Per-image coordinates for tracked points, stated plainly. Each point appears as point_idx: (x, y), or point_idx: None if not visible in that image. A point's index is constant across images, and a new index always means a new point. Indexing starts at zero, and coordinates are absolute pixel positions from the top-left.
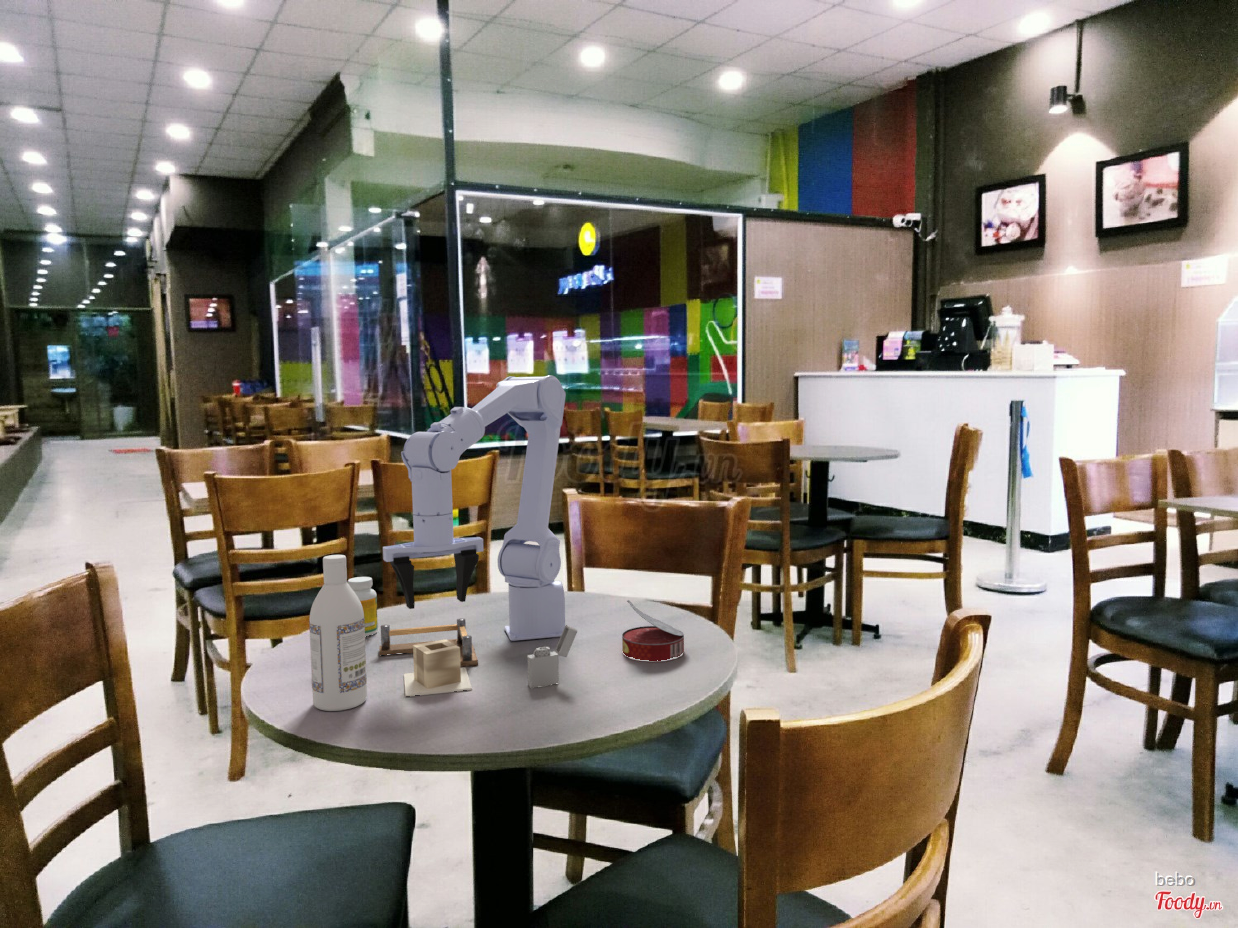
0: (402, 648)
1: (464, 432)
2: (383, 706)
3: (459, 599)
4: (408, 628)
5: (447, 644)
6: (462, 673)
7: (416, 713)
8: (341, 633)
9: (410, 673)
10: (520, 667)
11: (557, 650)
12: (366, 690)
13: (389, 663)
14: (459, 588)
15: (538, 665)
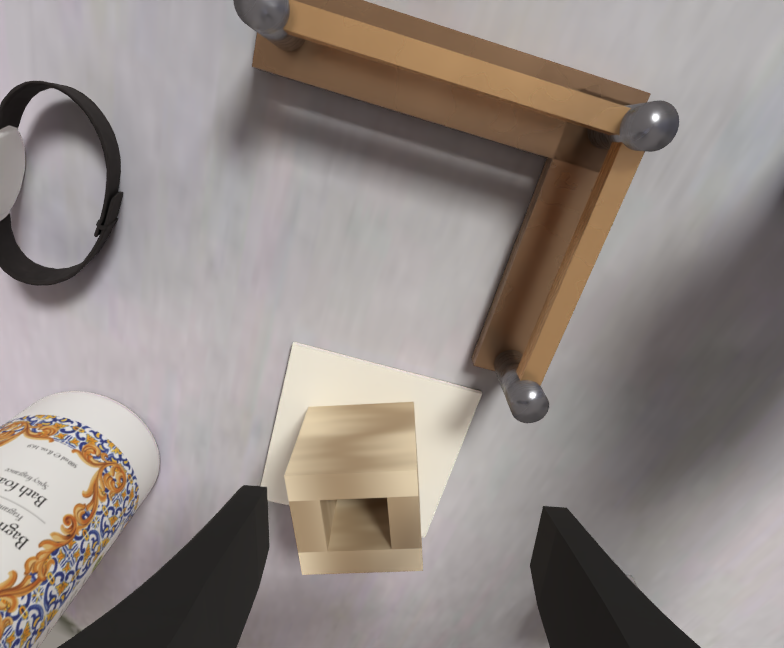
0: (350, 86)
1: None
2: (198, 517)
3: (537, 548)
4: (386, 36)
5: (398, 526)
6: (450, 436)
7: (261, 584)
8: None
9: (311, 353)
10: (625, 455)
11: None
12: (148, 489)
13: (277, 186)
14: (559, 606)
15: None
